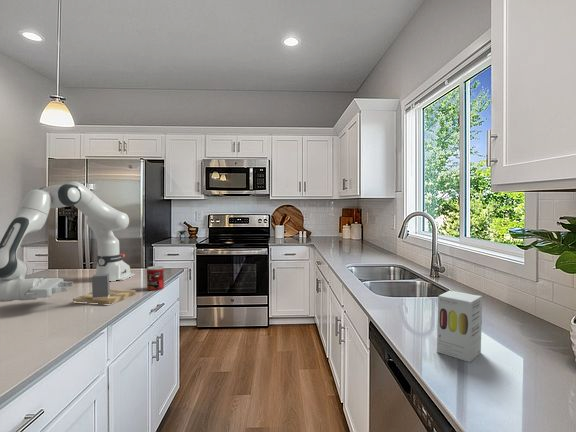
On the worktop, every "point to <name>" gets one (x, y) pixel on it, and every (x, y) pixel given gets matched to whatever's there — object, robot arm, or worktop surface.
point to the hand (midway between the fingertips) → (69, 286)
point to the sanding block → (100, 286)
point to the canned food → (155, 278)
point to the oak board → (114, 297)
